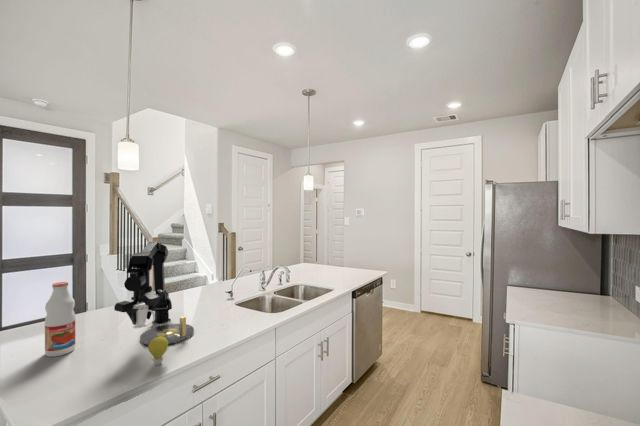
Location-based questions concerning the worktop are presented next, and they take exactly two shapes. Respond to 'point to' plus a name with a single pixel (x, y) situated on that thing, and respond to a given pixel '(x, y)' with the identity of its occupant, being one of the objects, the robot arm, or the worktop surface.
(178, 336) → the turntable
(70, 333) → the fruit juice
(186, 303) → the worktop surface
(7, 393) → the worktop surface
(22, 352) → the worktop surface
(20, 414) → the worktop surface
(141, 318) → the cup
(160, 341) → the light bulb
